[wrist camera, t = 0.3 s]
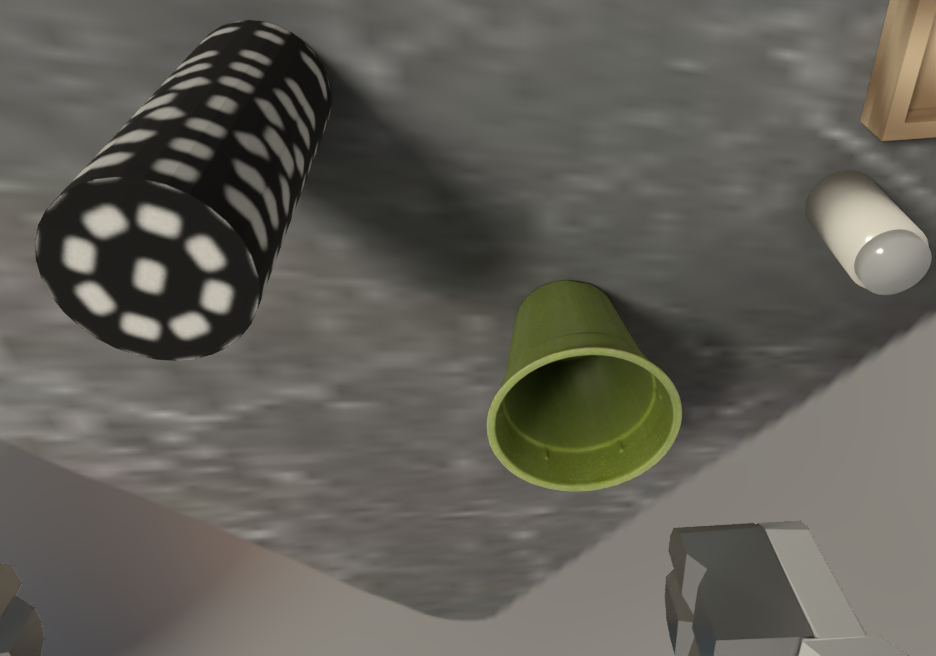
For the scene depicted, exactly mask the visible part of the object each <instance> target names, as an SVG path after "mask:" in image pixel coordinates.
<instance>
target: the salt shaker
mask: <svg viewBox="0 0 936 656" xmlns="http://www.w3.org/2000/svg"><path fill="white" fill-rule="evenodd" d="M805 210H806V216H807V219H808V221H809V222H810V224H811V225H812V226H813V228H814V229H815V230H816V232H817V233H818V234H819V236H820V237H821V238H822V240H823V241H824V242H825V244H826V245H827V246H828V248H829V249H830V250H831V252H832V253H833V254H834V256H835V257H836V258H837V260H838V261H839V262H840V264H841V265H842V266H843V268H844V269H845V270H846V272H847V273H848V274H849V276H850V277H851V278H852V280H853V281H854V282H855V283H856V284H858V285H859V286H861V287H864V288H867V289H868V290H869V291H871V292H873V293H875V294H880V295H890V294H896V293H899V292H902V291H905V290H907V289H909V288H910V287H912V286H914V285H915V284H916V283H918V282H919V281H920V280H921V279H922V278H923V277H924V275H925V274H926V273H927V271H928V269H929V267H930V264H931V259H932V256H931V251H930V249H929V246H928V240H927V238H926V236H925V234H924V233H923V232H922V231H921V230H920V229H919V228H918V227H917V226H916V225H915V224H914V223H913V222H912V221H911V220H910V219H909V218H908V217H907V216H906V215H905V214H904V213H903V212H902V211H901V210H900V208H899V207H898V206H897V205H896V204H895V203H894V202H893V201H892V200H891V199H890V198H889V197H888V196H887V195H886V194H885V193H884V192H883V191H882V190H881V189H880V188H879V187H878V186H877V185H876V184H875V183H874V182H873V181H872V180H871V179H870V178H869V177H868V176H867V175H865V174H863V173H861V172H857V171H843V172H839V173H836V174H833V175H831V176H829V177H827V178H826V179H824V180H823V181H821V182H820V183H819V184H818V185H817V186H816V187H815V188H814V189H813V191H812V192H811V194H810V195H809V197H808V199H807V203H806V208H805Z"/></svg>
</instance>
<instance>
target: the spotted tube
mask: <svg viewBox="0 0 936 656" xmlns="http://www.w3.org/2000/svg"><path fill="white" fill-rule="evenodd" d="M330 111H331V89H330V85H329V80H328V77H327V75H326V73H325V70H324V68H323V66H322V64H321V62H320V61H319V59H318V58H317V56H316V55H315V53H314V52H313V51H312V50H311V49H310V48H309V47H308V46H307V45H306V44H305V43H304V42H303V41H302V40H301V39H299V38H298V37H297V36H295V35H294V34H293V33H291V32H289V31H287V30H285V29H283V28H281V27H279V26H277V25H273V24H270V23H267V22H263V21H252V20H245V21H237V22H232V23H229V24H226V25H224V26H221V27H219V28H218V29H216V30H215V31H213V32H211V33H210V34H209V35H208V36H207V37H206V38H205V39H204V40H203V41H202V42H201V43H200V44H199V45H198V47H197V48H196V49H195V50H194V51H193V52H192V53H191V54H190V55H189V56H188V57H187V58H186V59H185V61H184V62H183V63H182V64H181V65H180V66H179V67H178V68H177V69H176V70H175V71H174V72H173V73H172V75H171V76H170V77H169V78H168V79H167V80H166V81H165V82H164V83H163V84H162V85H161V86H160V87H159V89H158V90H157V91H156V92H155V93H154V94H153V95H152V96H151V97H150V98H149V99H148V100H147V101H146V102H145V104H144V105H143V106H142V107H141V108H140V109H139V110H138V111H137V112H136V113H135V114H134V115H133V116H132V118H131V119H130V120H129V121H128V122H127V123H126V124H125V125H124V126H123V127H122V128H121V129H120V130H119V132H118V133H117V134H116V135H115V136H114V137H113V138H112V139H111V140H110V141H109V142H108V143H107V144H106V146H105V147H104V148H103V149H102V150H101V151H100V152H99V153H98V154H97V155H96V156H95V157H94V158H93V160H92V161H91V162H90V163H89V164H88V165H87V166H86V167H85V168H84V169H83V170H82V171H81V172H80V174H79V175H78V176H77V177H76V178H75V179H74V180H73V181H72V182H71V183H70V184H69V185H68V186H67V187H66V189H65V190H64V191H63V192H62V193H61V194H60V195H59V196H58V197H57V198H56V199H55V200H54V201H53V203H52V204H51V205H50V206H49V207H48V208H47V209H46V211H45V213H44V215H43V217H42V219H41V221H40V222H39V224H38V229H37V234H36V239H35V252H36V262H37V265H38V268H39V272H40V275H41V278H42V280H43V282H44V284H45V286H46V287H47V289H48V291H49V293H50V295H51V296H52V298H53V299H54V300H55V301H56V303H57V304H58V305H59V307H60V308H61V309H62V310H63V312H64V313H65V314H67V315H68V316H69V317H70V318H71V319H72V320H73V321H74V322H75V323H76V324H77V325H78V326H80V327H81V328H82V329H84V330H85V331H87V332H88V333H90V334H91V335H93V336H94V337H95V338H97V339H99V340H101V341H103V342H105V343H107V344H109V345H111V346H113V347H115V348H117V349H120V350H123V351H125V352H128V353H131V354H134V355H137V356H142V357H147V358H152V359H158V360H174V361H178V360H189V359H197V358H201V357H204V356H208V355H212V354H214V353H216V352H219V351H221V350H223V349H225V348H227V347H229V346H230V345H231V344H232V343H234V342H235V341H236V340H238V339H239V338H240V337H241V336H242V335H243V334H244V332H245V331H246V330H247V329H248V327H249V326H250V325H251V323H252V321H253V318H254V316H255V314H256V312H257V309H258V307H259V304H260V301H261V299H262V296H263V293H264V291H265V288H266V285H267V283H268V280H269V277H270V275H271V272H272V269H273V267H274V264H275V261H276V259H277V256H278V253H279V251H280V248H281V245H282V243H283V240H284V237H285V235H286V232H287V229H288V227H289V224H290V221H291V219H292V216H293V213H294V211H295V208H296V205H297V203H298V200H299V197H300V195H301V192H302V189H303V187H304V184H305V181H306V179H307V176H308V173H309V171H310V168H311V165H312V163H313V160H314V157H315V155H316V152H317V149H318V147H319V144H320V141H321V139H322V136H323V133H324V131H325V128H326V125H327V123H328V120H329V116H330Z"/></svg>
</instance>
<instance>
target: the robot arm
mask: <svg viewBox="0 0 936 656" xmlns="http://www.w3.org/2000/svg"><path fill="white" fill-rule="evenodd" d="M669 554H670V557H671V561H672V564H673V567H674V569H673V571H671V573H669V574H668V575H667V576H666V585H665V606H666V619H667V625H668V630H669V636H670V640H671V644H672V647H673V651H674V655H675V656H909V655H907V654H906V653H905V652H903V651H902V650H900V649H899V648H898V647H896V646H895V645H893V644H892V643H891V642H889V641H888V640H886V639H885V638H884V637H882V636H867V634H866V632H865V631H864V629H863V627H862V625H861V623H860V621H859V620H858V618H857V616H856V614H855V612H854V610H853V609H852V607H851V605H850V603H849V601H848V599H847V598H846V596H845V594H844V593H843V590H842V588H841V587H840V585H839V583H838V581H837V579H836V577H835V576H834V574H833V572H832V570H831V568H830V567H829V565H828V563H827V561H826V559H825V557H824V556H823V554H822V552H821V550H820V548H819V547H818V545H817V543H816V541H815V539H814V537H813V536H812V534H811V532H810V530H809V528H808V527H807V526H806V525H805V524H804V523H803V522H801V521H785V522H767V523H757V524H754V523H748V524H732V525H715V526H699V527H683V528H673V531H672V533H671V535H670V543H669ZM21 584H22V583H21V581H20V579H19V578H18V576H17V574H16V573H15V571H14V569H13V568H12V566H11V565H9V564H1V563H0V656H41V652H42V647H43V642H44V635H43V628H42V621H41V619H40V618H39V615H38V613H37V611H36V609H35V607H33V606H32V605H30V604H28V603H27V602H25V601H24V600H22V599H20V598H19V597H17V596H16V595H17V593H18V591H19V588H20V586H21Z"/></svg>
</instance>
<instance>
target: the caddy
mask: <svg viewBox="0 0 936 656" xmlns="http://www.w3.org/2000/svg"><path fill="white" fill-rule="evenodd" d="M860 122H862V123H863V124H864V125H865V126H866V127H867V128H868V129H869V130H870V131H871V132H873V133H874V134H875V135H876V136H877V137H878V138H879V139H880V140H881V141H890V140H904V139H918V138H932V137H936V0H890V2H889V6H888V10H887V14H886V18H885V23H884V27H883V31H882V35H881V39H880V43H879V47H878V51H877V55H876V59H875V63H874V67H873V71H872V75H871V79H870V84H869V88H868V92H867V96H866V100H865V104H864V108H863V112H862V116H861V120H860Z"/></svg>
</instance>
